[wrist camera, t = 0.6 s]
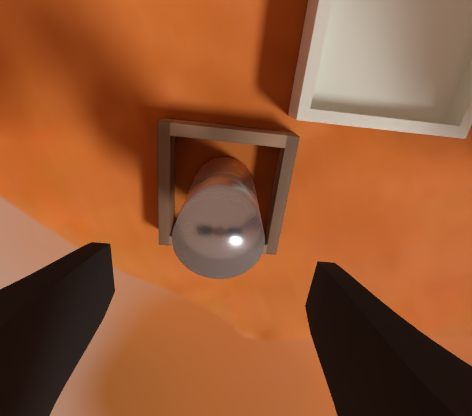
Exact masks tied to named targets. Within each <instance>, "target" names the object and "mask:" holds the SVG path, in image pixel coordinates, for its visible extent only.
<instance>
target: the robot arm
mask: <svg viewBox="0 0 472 416" xmlns="http://www.w3.org/2000/svg"><path fill="white" fill-rule="evenodd" d="M114 292H115V288H114V278H113V267H112V257H111V247H110V244H106V243H94V242H92V243H89V244H87V245H85V246H83V247H81V248H79V249H77V250H75V251H73V252H72V253H70V254H68V255H66V256H64V257H62V258H60V259H59V260H57V261H55V262H53V263H51V264H49V265H48V266H46V267H44V268H42V269H40V270H38V271H36V272H34V273H33V274H31V275H29V276H27V277H25V278H23V279H21V280H19V281H17V282H15V283H13V284H11V285H9V286H7V287H4V288H2V289H1V290H0V416H49V415H50V413H51V411H52V409H53V407H54V405H55V403H56V401H57V399H58V397H59V395H60V393H61V391H62V390H63V388H64V386H65V384H66V382H67V381H68V379H69V377H70V376H71V374H72V372H73V370H74V369H75V367H76V365H77V364H78V362H79V360H80V358H81V357H82V355H83V353H84V351H85V350H86V348H87V346H88V344H89V343H90V341H91V339H92V338H93V336H94V334H95V332H96V331H97V329H98V327H99V325H100V324H101V322H102V320H103V318H104V316H105V314H106V311H107V309H108V307H109V304H110V302H111V299H112V297H113V294H114ZM305 306H306V312H307V317H308V323H309V327H310V332H311V336H312V339H313V342H314V345H315V348H316V351H317V354H318V357H319V360H320V363H321V366H322V369H323V372H324V375H325V378H326V381H327V384H328V387H329V390H330V393H331V396H332V399H333V401H334V405H335V409H336V412H337V415H338V416H472V366H470V365H469V364H467V363H466V362H464V361H463V360H461V359H459V358H458V357H456V356H455V355H454V354H452V353H451V352H449V351H447V350H446V349H445V348H443V347H442V346H440V345H439V344H437V343H436V342H434V341H433V340H431V339H430V338H429V337H427V336H426V335H424V334H423V333H422V332H420V331H419V330H417V329H416V328H415V327H414V326H412V325H411V324H410V323H408V322H407V321H406V320H404V319H403V318H402V317H400V316H399V315H398V314H396V313H395V312H394V311H393V310H391V309H390V308H389V307H388V306H386V305H385V304H384V303H383V302H381V301H380V300H379V299H378V298H377V297H375V296H374V295H373V294H372V293H371V292H369V291H368V290H367V289H366V288H365V287H364V286H362V285H361V284H360V283H359V282H358V281H356V280H355V279H354V278H353V277H352V276H351V275H349V274H348V273H347V272H346V271H344V270H343V269H342V268H341V267H339V266H338V265H337V264H335V263H329V262H317V266H316V269H315V273H314V277H313V280H312V284H311V287H310V291H309V294H308V298H307V302H306V305H305Z"/></svg>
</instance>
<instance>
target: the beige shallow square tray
mask: <svg viewBox="0 0 472 416" xmlns="http://www.w3.org/2000/svg"><path fill="white" fill-rule="evenodd" d="M288 116H290V117H292V118H294V119H296V120H302V121H311V122H320V123H329V124H338V125H346V126H355V127H364V128H373V129H382V130H391V131H399V132H408V133H417V134H426V135H435V136H444V137H453V138H461V139H466V137H467V134H468V132H469V130H470V128H471V125H472V0H308V5H307V10H306V16H305V22H304V27H303V33H302V38H301V44H300V50H299V55H298V61H297V67H296V72H295V78H294V84H293V89H292V95H291V100H290V106H289V112H288Z"/></svg>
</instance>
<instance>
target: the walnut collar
mask: <svg viewBox="0 0 472 416" xmlns="http://www.w3.org/2000/svg"><path fill="white" fill-rule="evenodd" d="M176 136H177V137H187V138H196V139H205V140H215V141H224V142H233V143H243V144H252V145H261V146H270V147H280V149H279V155H278V160H277V166H276V172H275V178H274V183H273V189H272V195H271V201H270V206H269V212H268V218H267V224H266V229H265V233H264V235H265V244H264V249H263V252H262V254H274V255H276V252H277V247H278V242H279V237H280V232H281V227H282V222H283V217H284V212H285V207H286V202H287V197H288V192H289V187H290V182H291V177H292V172H293V167H294V162H295V157H296V152H297V147H298V142H299V136H298V135H296V134H295V133H294V132H285V131H276V130H267V129H258V128H249V127H240V126H231V125H222V124H213V123H204V122H195V121H186V120H177V119H168V118H163V119H161V120H159V121H157V138H158V220H159V245H171V246H173V244H172V232H173V228H174V216H175V150H176Z"/></svg>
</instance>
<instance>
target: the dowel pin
mask: <svg viewBox="0 0 472 416" xmlns="http://www.w3.org/2000/svg"><path fill="white" fill-rule="evenodd" d="M172 244H173V248H174V251H175V253H176V255H177V257H178V258H179V260H180V261H181V262H182V263H183V264H184V265H185V266H186V267H187V268H188V269H190V270H191V271H193V272H194V273H196V274H198V275H201V276H204V277H208V278H214V279H224V278H231V277H235V276H238V275H240V274H242V273H244V272H246V271H247V270H249V269H250V268H251V267H253V266H254V265H255V264H256V262H257V261H258V260H259V258H260V256H261V254H262V252H263V249H264V244H265V235H264V230H263V225H262V220H261V215H260V210H259V205H258V200H257V195H256V191H255V186H254V181H253V177H252V174H251V172H250V171H249V169H248V168H247V167H246V166H245V165H244V164H243V163H242V162H240V161H239V160H236V159H234V158H231V157H217V158H213V159H211V160H209V161H207V162H206V163H204V164H203V165H202V166H201V167H200V168H199V170H198V171H197V173H196V176H195V178H194V180H193V183H192V185H191V187H190V190H189V192H188V194H187V197H186V199H185V202H184V204H183V206H182V209H181V211H180V213H179V216H178V218H177V220H176V223H175V225H174V228H173V232H172Z"/></svg>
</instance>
